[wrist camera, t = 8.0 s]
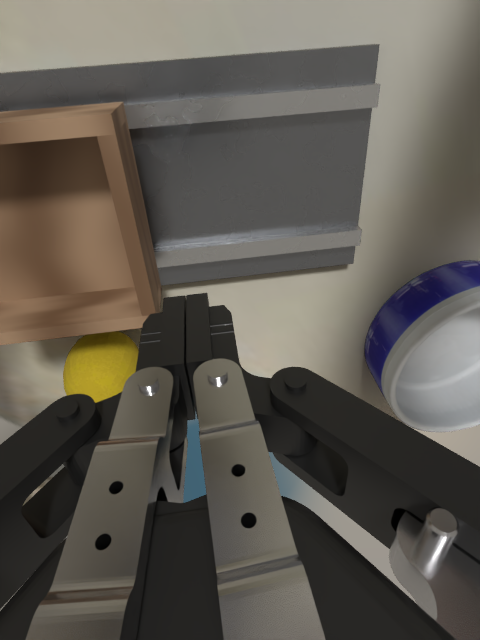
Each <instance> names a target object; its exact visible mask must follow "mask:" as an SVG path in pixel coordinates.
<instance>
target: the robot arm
mask: <svg viewBox="0 0 480 640" xmlns="http://www.w3.org/2000/svg"><path fill="white" fill-rule="evenodd" d="M141 335H142V336H141V339H140V346H139V352H138V359H137V365H136V372H135V373H134V374H132V375H131V376H130V377H129V378H128V379H127V381H126V382H125V384H124V388H123V391H122V392H120V393H118V394H117V395H114V396H112V397H110V398H107V399H104V400H102V401H99V402H96V403H95V402H94V400H93V399H92V398H91V397H90V396H88V395H85V394H72V395H68V396H65V397H62V398H60V399H58V400H57V401H55V402H54V403H52V404H51V405H50V406H48V407H47V408H46V409H45V410H43V411H42V412H41V413H40V414H38V415H37V416H36V417H35V418H33V419H32V420H31V421H30V422H28V423H27V424H26V425H25V426H23V427H22V428H21V429H20V430H18V431H17V432H16V433H14V434H13V435H12V436H11V437H9V438H8V439H7V440H6V441H4V442H3V443H2V444H1V445H0V608H2V607H3V605H4V604H5V603H6V602H7V601H8V600H9V599H10V598H11V597H12V595H13V594H14V593H15V592H16V591H17V590H18V589H19V588H20V587H21V586H22V585H23V586H22V587H21V588H20V589H19V590H18V591H17V593H16V594H15V595H14V596H13V597H12V598H11V599H10V601H9V602H8V603H7V604H6V605H5V607H3V609H2V610H1V611H0V640H480V467H479V466H477V465H476V464H473V463H472V462H470V461H469V460H467V459H465V458H463V457H461V456H460V455H458V454H456V453H454V452H453V451H451V450H449V449H447V448H446V447H444V446H442V445H440V444H439V443H437V442H435V441H433V440H432V439H430V438H428V437H426V436H425V435H423V434H421V433H419V432H418V431H416V430H414V429H412V428H410V427H409V426H407V425H405V424H403V423H402V422H400V421H398V420H396V419H395V418H393V417H391V416H389V415H388V414H386V413H384V412H382V411H381V410H379V409H377V408H375V407H374V406H372V405H370V404H368V403H367V402H365V401H363V400H361V399H359V398H358V397H356V396H354V395H352V394H351V393H349V392H347V391H345V390H344V389H342V388H340V387H338V386H337V385H335V384H333V383H331V382H330V381H328V380H326V379H324V378H323V377H321V376H319V375H317V374H316V373H314V372H312V371H310V370H308V369H305V368H301V367H288V368H284V369H281V370H279V371H278V372H276V373H275V374H274V375H273V377H272V378H264V377H258V376H254V375H252V374H250V373H248V372H246V371H245V370H244V369H243V368H242V367H241V365H240V363H239V358H238V352H237V346H236V340H235V334H234V328H233V321H232V315H231V312H230V311H229V310H228V309H227V308H226V307H225V306H224V305H220V306H212V307H209V302H208V295H207V293H202V294H193V295H187V296H186V297H185V296H177V297H168V298H164V301H163V312H162V313H154V314H150V315H149V316H148V318H147V319H146V320H145V322H144V323H143V326H142V333H141ZM195 409H196V414H197V418H198V420H199V428H200V431H199V437H200V445H201V453H202V461H203V468H204V477H205V485H206V493H207V494H206V495H204V496H201V497H199V498H196V499H194V500H191V501H189V502H186V503H183V492H184V481H185V469H186V458H187V446H188V440H187V420H193V419H195ZM268 452H273V454H274V456H275V458H276V459H277V460H278V461H279V462H280V463H281V464H283V465H284V466H285V467H286V468H288V469H289V470H290V471H292V472H293V473H294V474H295V475H297V476H298V477H299V478H300V479H302V480H303V481H304V482H305V483H307V484H308V485H309V486H310V487H312V488H313V489H314V490H316V491H317V492H318V493H319V494H321V495H322V496H323V497H324V498H326V499H327V500H328V501H329V502H331V503H332V504H333V505H334V506H336V507H337V508H338V509H339V510H341V511H342V512H343V513H345V514H346V515H347V516H348V517H350V518H351V519H352V520H353V521H355V522H356V523H357V524H358V525H360V526H361V527H362V528H363V529H365V530H366V531H367V532H369V533H370V534H371V535H372V536H374V537H375V538H376V539H377V540H379V541H380V542H381V543H383V544H384V545H385V546H386V547H388V548H389V549H390V553H389V559H390V564H391V568H392V570H393V573H394V574H395V576H396V578H397V579H398V581H399V582H400V583H401V585H402V586H403V587H404V588H405V589H406V590H407V591H408V592H409V593H410V594H411V595H412V597H413V598H414V599H415V601H416V603H417V604H418V605H417V604H416V603H415V602H414V601H413V600H411V599H410V598H409V597H408V596H407V595H406V594H405V593H404V592H403V591H402V590H400V589H399V588H398V587H397V586H396V585H395V584H394V583H393V582H391V581H390V580H389V579H388V578H387V577H386V576H385V575H384V574H382V573H381V572H380V571H379V570H378V569H377V568H376V567H375V566H374V565H373V564H371V563H370V562H369V561H368V560H367V559H366V558H365V557H364V556H362V555H361V554H360V553H359V552H358V551H357V550H355V549H354V548H353V547H352V546H351V545H350V544H349V543H348V542H347V541H346V540H345V539H343V538H342V537H341V536H340V535H339V534H338V533H337V532H336V531H334V530H333V529H332V528H331V527H330V526H329V525H327V523H326V522H324V521H323V520H322V519H321V518H320V517H319V516H318V515H316V514H315V513H314V512H313V511H311V510H310V509H309V508H307V507H306V506H304V505H302V504H300V503H298V502H296V501H295V500H292V499H289V498H287V497H283V496H281V495H280V491H279V488H278V484H277V481H276V477H275V474H274V471H273V467H272V464H271V460H270V457H269V453H268ZM62 464H63V465H64V466H65V467H64V468H63V469H62V470H61V471H59V472H58V473H57V474H56V475H55V476H54V477H53V478H52V479H51V480H50V481H49V482H48V483H47V484H46V485H45V486H44V487H43V488H41V489H40V490H39V491H38V492H37V493H36V494H35V495H34V496H33V497H32V498H31V499H30V500H29V501H28V502H27V503H26V504H25V505H23V503H24V501H25V500H26V498H27V497H28V496H29V495H30V494H31V493H32V492H33V491H34V490H35V489H36V488H37V487H38V486H39V485H40V484H42V483H43V482H44V481H45V480H46V479H47V478H48V477H49V476H50V475H51V474H52V473H53V472H54V471H55V470H56V469H58V468H59V467H60V466H61V465H62ZM67 535H68V536H67ZM66 536H67V538H66ZM65 538H66V539H65ZM64 539H65V540H64ZM35 570H36V571H35ZM29 577H30V578H29ZM28 578H29V579H28ZM27 579H28V580H27ZM26 580H27V581H26ZM25 581H26V582H25Z"/></svg>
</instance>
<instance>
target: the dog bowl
mask: <svg viewBox="0 0 480 640" xmlns="http://www.w3.org/2000/svg"><path fill="white" fill-rule="evenodd" d="M365 359H366V362H367V365H368V367H369V369H370V371H371V373H372V375H373V377H374V379H375V381H376V383H377V385H378V386H379V388H380V390H381V392H382V394H383V395H384V397H385V399H386V400H387V402H388V404H389V406H390V407H391V409H392V410H393V412H394V413H395V415H396V416H397V417H398V418H399V419H400V420H401V421H402V422H404V423H405V424H407V425H408V426H410V427H412V428H415V429H418V430H423V431H428V432H450V431H457V430H462V429H466V428H470V427H474V426H477V425H480V261H460V262H454V263H450V264H446V265H443V266H440V267H437V268H434V269H432V270H430V271H427V272H425V273H423V274H421V275H420V276H418V277H416V278H414V279H413V280H411V281H410V282H408V283H407V284H405V285H404V286H403V287H401V288H400V289H399V290H398V291H397V292H396V293H395V294H393V295H392V296H391V297H390V298H389V299H388V300H387V302H386V303H385V304H384V305H383V306H382V308H381V309H380V310H379V312H378V313H377V315H376V316H375V318H374V320H373V322H372V324H371V326H370V328H369V331H368V334H367V337H366V342H365Z"/></svg>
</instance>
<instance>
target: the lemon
mask: <svg viewBox="0 0 480 640" xmlns="http://www.w3.org/2000/svg"><path fill="white" fill-rule="evenodd" d="M138 352H139V350H138V348H137V346H136V344H135V343H134V342H133V341H132V339H131V338H129V337H128V336H127V335H125V334H124V333H121V332H119V331H112V332H104V333H96V334H87V335H85V336H83V337H82V338H81V339H79V340H78V341H77V342H76V344H75V345H74V346H73V347H72V349H71V350H70V352H69V354H68V356H67V359H66V362H65V366H64V372H63V379H64V389H65V392H66V394H67V396H68V395H72V394H85V395H88V396H90V397H91V398H92V399H93V400H94V402H95V403H96V402H99V401H102V400H104V399H107V398H110V397H112V396H114V395H117V394H118V393H120V392H122V391H123V388H124V384H125V382H126V381H127V379H128V378H129V377H130V376H131V375H132V374H134V373H135V372H136V365H137V359H138Z"/></svg>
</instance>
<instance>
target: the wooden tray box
mask: <svg viewBox="0 0 480 640" xmlns="http://www.w3.org/2000/svg"><path fill="white" fill-rule="evenodd" d="M161 290H162V288H161V283H160V278H159V273H158V268H157V264H156V259H155V254H154V249H153V244H152V239H151V234H150V229H149V225H148V220H147V215H146V210H145V205H144V200H143V195H142V190H141V186H140V181H139V176H138V171H137V166H136V161H135V156H134V151H133V147H132V142H131V137H130V132H129V127H128V122H127V117H126V113H125V108H124V103H123V102H113V103H101V104H89V105H77V106H65V107H53V108H41V109H29V110H17V111H4V112H0V345H5V344H13V343H21V342H30V341H38V340H46V339H54V338H63V337H71V336H79V335H87V334H96V333H104V332H112V331H120V330H129V329H137V328H142V326H143V323H144V322H145V320H146V319H147V318H148V316H149V315H150V314H154V313H160V303H161Z"/></svg>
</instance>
